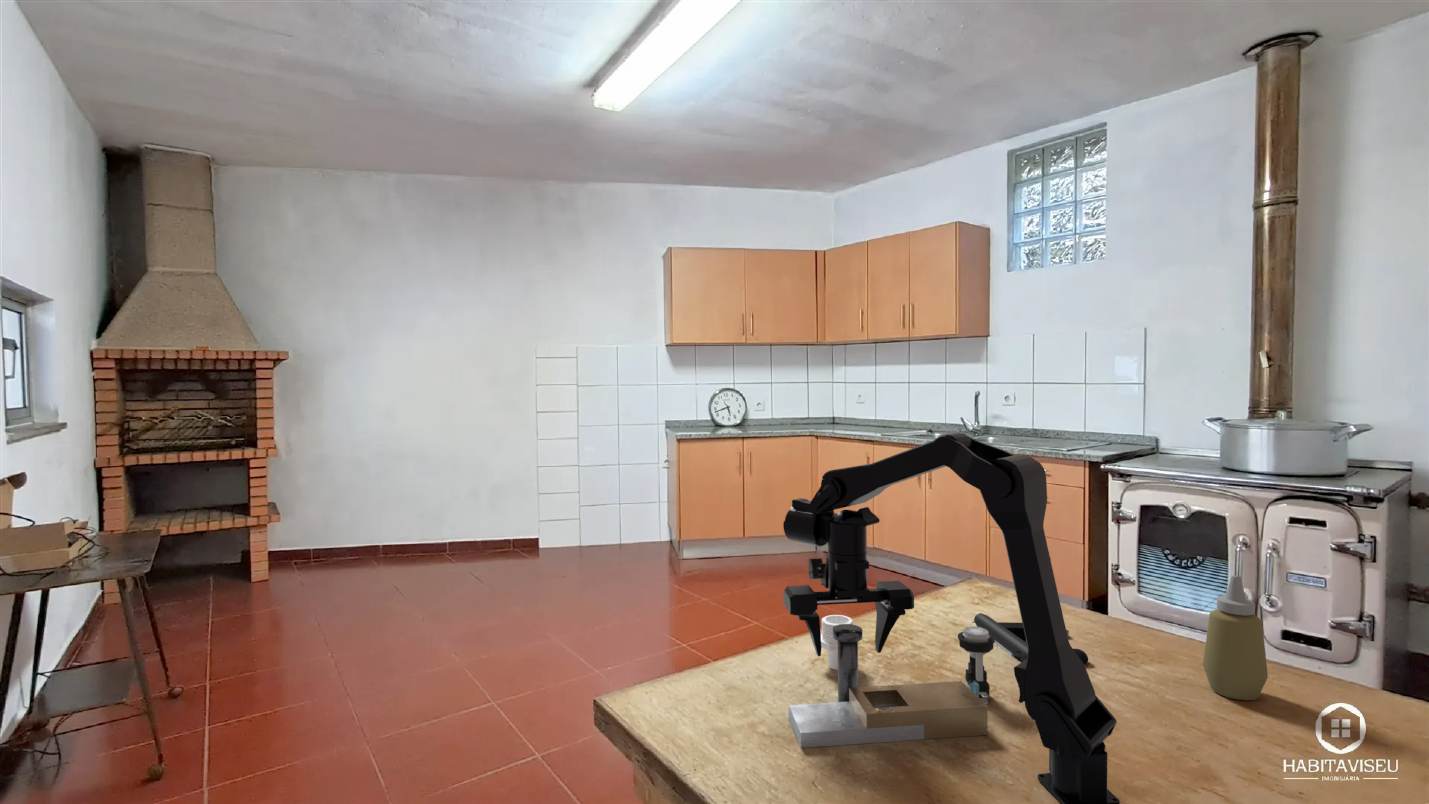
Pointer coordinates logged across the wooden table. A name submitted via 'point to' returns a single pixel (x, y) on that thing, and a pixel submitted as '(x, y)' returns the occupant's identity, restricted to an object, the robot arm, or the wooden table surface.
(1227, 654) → the squeeze bottle
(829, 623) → the pipe fitting
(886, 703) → the tan and silver block
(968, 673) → the push button
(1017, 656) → the black frame
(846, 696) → the metal knob
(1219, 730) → the wooden table surface
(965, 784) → the wooden table surface
